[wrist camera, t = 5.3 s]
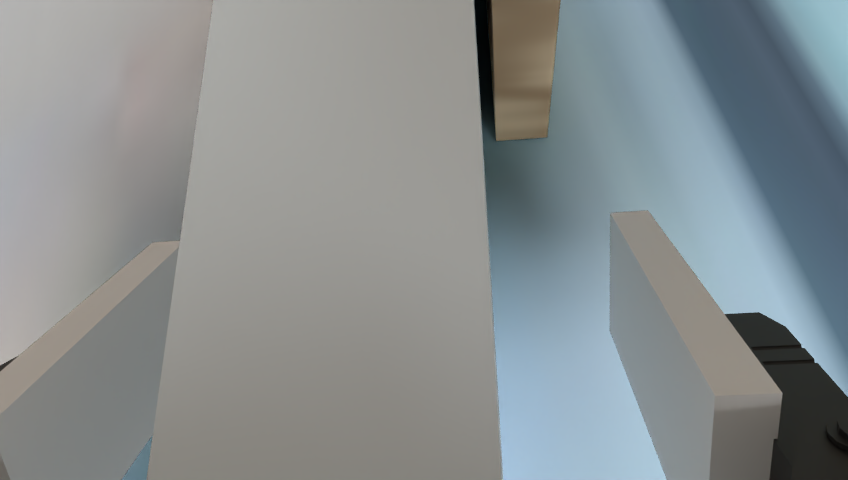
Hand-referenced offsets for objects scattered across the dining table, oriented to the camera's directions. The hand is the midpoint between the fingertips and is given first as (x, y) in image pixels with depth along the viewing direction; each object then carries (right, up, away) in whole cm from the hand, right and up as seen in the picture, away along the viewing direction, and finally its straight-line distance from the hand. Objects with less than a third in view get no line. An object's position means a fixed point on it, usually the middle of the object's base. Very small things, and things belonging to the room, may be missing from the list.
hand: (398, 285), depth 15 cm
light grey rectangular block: (0, +2, +5) cm, 5 cm away
